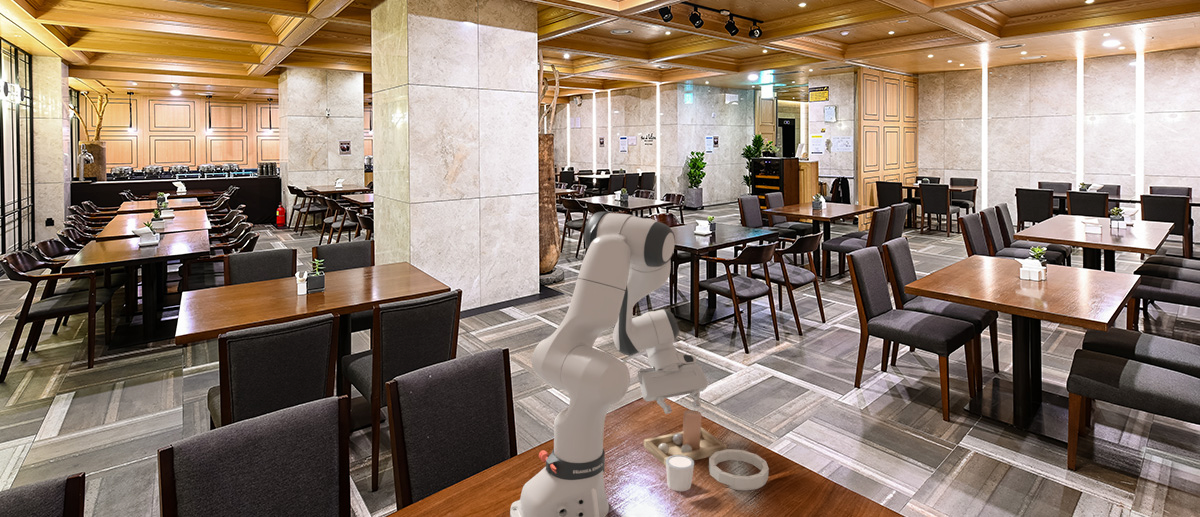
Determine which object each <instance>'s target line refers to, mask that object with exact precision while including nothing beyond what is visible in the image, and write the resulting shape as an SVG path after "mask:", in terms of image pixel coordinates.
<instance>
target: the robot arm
mask: <svg viewBox="0 0 1200 517" xmlns="http://www.w3.org/2000/svg"><path fill="white" fill-rule="evenodd" d="M583 233H584V234H583V239H584V240H583V241H584V242H585V243H584V244H585V246H586V248H587V250H586V253H585V255H584V257H583V260H582V261H581V262H582V263H581V265H580V268H579V272H578V275H577V278H576V282H575V287H574V289H573V293H572V296H571V300H570V303H569V307H568V309H567V311H566V314H565V316H564V317H563V319H562V320H561V323H560V324H559V325H558V327H557V328H556V330H554V332H552V334H550V335H549V336H547V337H546V338H544V339H542V340H541V341H540V342H539V343H538V344H537V345H536V347H535V348H534V349H533V352H532V356H531V367H532V371H533V372H534V373H535V374H536V375H537V377H539V378H540V379H541V380H542V381H544V383H546V384H547V385H549V386H551V387H554V388H556V389H559V390H561V391H564V392H566V393H568V396H569V405H568V406H567V407H565V408H564V409H562V410H561V411H560V412H559V413H558V414H557V415H556V416H555V419H554V422H553V448H552V451H551V453H550V454H549V453H548V451H546V450H544V449H543V450H541V451H539V453H538V458H539V459H540V460H541V462H543V463H545V466H544V467H543V468H542V469H541V470H540V471H539V472H537V473H536V474H535V475H534V476H533V477H532V478H530V479H529V480H528V481H527V482H525V484H523V486H522V489H521V494H520V498H519V499H518V500H516V501H514V502H512V503H511V505H510V510H509V516H510V517H607V515H608V513H609V511H610V505H609V502H608V498H607V494H606V489H605V481H604V472H605V464H606V458H605V448H604V430H605V421H606V416H607V413H608V412H609V410H610V409H611V407H613V406H614V405H616V404H618V403H619V402H621V401H622V399H623V398H624V397H625V396H626V394H627V392H628V390H629V388H630V383H631V374H630V370H629V367H628V366H627V364H626V363H625V362H623V361H621V360H620V359H619V358H617V357H616V356H615V355H613V354H611V353H608V352H607V351H603V350H601V349H598V348H594V347H593V346H594V345H595V344H594V343H595V342H596V340H597V338H598V337H599V336H600V335H601V334H602V333H603V332H605V331H608V330H611V329H612V328H613V330H612V331H613V332H612V339H613V343H614V346H615V348H616V350H617V351H618V352H620V354H623V355H625V356H628V357H631V356H633V355H634V356H635V355H636V354H638V353H640V352H643V351H645V352H646V354H647V361H648V363H649V366H650V367H645V368H639V370H638V371H637V372H636V379H637V381H638V383H639V388H640V391H641V396H642V399H643V400H644V401H645V402H652V401H656V404H657V405H659V407H661V408H662V409H663V411H664V414H666V415H667V414H670V413H672V412H673V409H672V406H671V405H669V404H667V403H666V402H665V399H668V398H674V397H679V396H684V395H690V394H691V396H692V397H693V398H694V399H693V401H692V402H691V404H692V406H693V408H694V409H696V408H700V407H701V402H700V395H701V392H703V391H705V390H706V389H707V388H708V386H709V382H708V379H707V376H706V374H705V373H704V370H703V369H702V367H701V366H700V365H699V364H697V362H698V360H697V357H696V356H695V355H691V354H687V353H683V352H678V351H677V348H676V347H675V345H674V342H675V341H676V339H677V337H678V336H679V335H680V327H679V325H678V322H677V320H676V317H675V315H674V313H672V312H671V311H670V310H667V309H658V310H655V311H654V310H652V311H650V310H649V311H647V312H644V313H643V314H642V315H641V314H640V315H639V316H634V317H633V311H634V309H633V308H634V307H635V306H636V304H637V303H638V302H639V301H640V300H642V299H643V298H645V297H646V296H649V294H651V293H653V292H655V291H656V290H658V289H660V288H661V287H662V286H663V285H665V283H666V282H667V280H668V279H669V277H670V274H671V268H672V267H671V266H672V265H671V264H672V263H671V258H672V256H673V253H674V249H675V246H676V245H675V243H676V237H675V234H674V233H675V232H674V231H673V229H672V228H671V227H670V226H669V225H667V224H666V223H663V222H661V221H657V220H655V219H652V218H643V217H640V216H636V215H634V214H627V213H617V212H615V213H614V212H611V211H598V212H595V213H593V214H592V216H590V217H589V219H588V220H587V222H586V224H585V227H584V232H583Z"/></svg>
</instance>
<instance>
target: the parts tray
mask: <svg viewBox="0 0 1200 517" xmlns="http://www.w3.org/2000/svg"><path fill="white" fill-rule="evenodd" d="M675 434H681V435H682V436H683V430H682V431H677V432H673V433H668V434H663V435H658V436H655V437H651V438H650V437H649V438H645V439H643V448H645V449H646V450H647V451H648V452H649V453H650V454H651V455H652V456H653V457H654V458H655V459H657V461H659V462H660V463H661V464H662V465H663V466H664V467H666V459H667V458H668V457H670V456H673V455H683V456H687V457H689V458H691V459H692V460H693V461H694V462H695V461H698V460H702V459H705V458H710V457H711V456H712V455H713V454H714V453H715V452H718V451H722V450H726V449H728V446H727V444H725V443H724V442H723V441H721V440H720V439H718V438H717V437H716V436H714V435H713V434H712V433H710V432H709V431H707V430H706V429H705V428H703V427H702V426H701V435H700V449H699V450H695V451H691V452H686V453H682V452H681V447H682V444H680V445H677V444H675V443H674V442H673V436H674V435H675ZM661 443H665V444H667V445H668V446H669V452H668V453H667V454H664V453H663V452H662V451H661V450H660V449H659V448H658V446H659V445H660V444H661Z"/></svg>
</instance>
